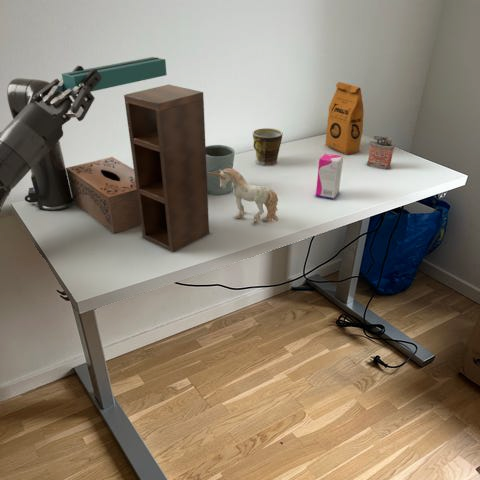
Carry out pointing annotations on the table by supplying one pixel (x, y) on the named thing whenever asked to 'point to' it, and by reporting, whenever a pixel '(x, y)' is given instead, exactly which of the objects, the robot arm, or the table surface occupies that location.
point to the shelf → (169, 164)
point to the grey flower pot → (218, 167)
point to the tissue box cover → (106, 192)
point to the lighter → (380, 152)
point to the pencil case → (119, 73)
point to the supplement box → (329, 176)
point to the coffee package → (345, 119)
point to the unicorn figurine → (249, 194)
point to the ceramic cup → (267, 145)
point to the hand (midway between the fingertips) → (90, 71)
